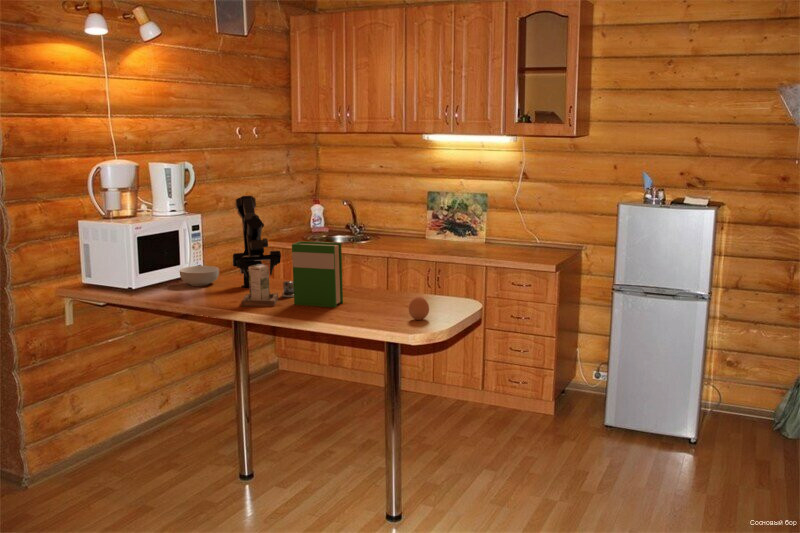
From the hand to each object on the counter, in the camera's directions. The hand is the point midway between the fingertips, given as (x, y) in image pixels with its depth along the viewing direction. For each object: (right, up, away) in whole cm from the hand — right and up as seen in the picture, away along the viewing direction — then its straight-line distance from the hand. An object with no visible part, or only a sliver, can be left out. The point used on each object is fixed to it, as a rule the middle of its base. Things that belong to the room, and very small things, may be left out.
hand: (259, 275), depth 306 cm
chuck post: (+10, -9, +14) cm, 19 cm away
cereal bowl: (-34, -5, +40) cm, 53 cm away
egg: (+62, -16, -26) cm, 69 cm away
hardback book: (+23, -11, 0) cm, 26 cm away
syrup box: (0, -10, +3) cm, 11 cm away
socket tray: (0, -11, +3) cm, 11 cm away
